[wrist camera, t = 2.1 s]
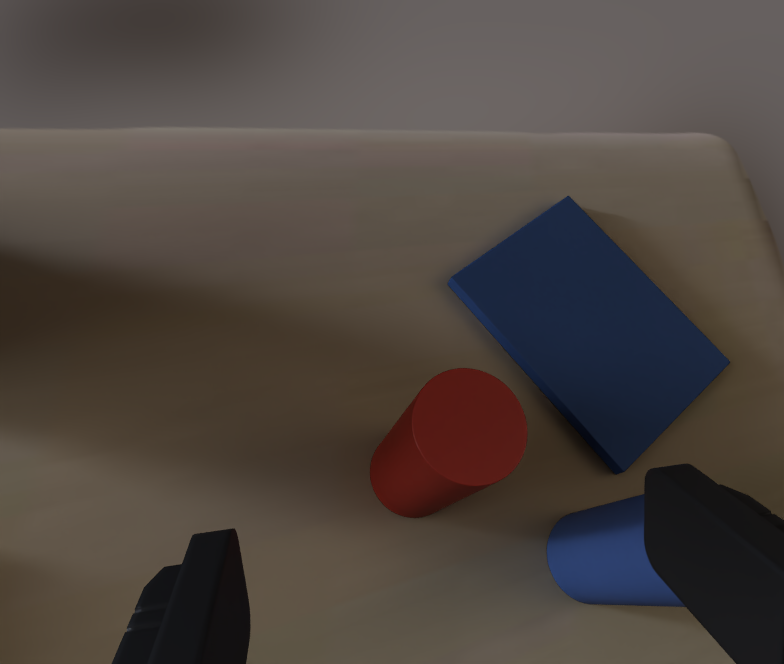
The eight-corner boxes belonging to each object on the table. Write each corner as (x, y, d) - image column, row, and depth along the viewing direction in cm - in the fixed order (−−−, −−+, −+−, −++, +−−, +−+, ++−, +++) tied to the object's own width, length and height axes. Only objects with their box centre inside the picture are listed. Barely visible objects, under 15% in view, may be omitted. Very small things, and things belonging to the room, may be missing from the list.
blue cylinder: (529, 550, 34) (635, 532, 25) (584, 494, 36) (703, 456, 27) (590, 624, 34) (726, 636, 24) (643, 563, 35) (790, 550, 26)
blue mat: (446, 284, 40) (451, 276, 40) (562, 203, 45) (568, 195, 44) (615, 475, 37) (624, 472, 36) (721, 367, 42) (731, 362, 41)
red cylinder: (351, 465, 34) (387, 413, 25) (416, 413, 36) (473, 346, 27) (408, 536, 34) (467, 512, 24) (471, 480, 35) (551, 436, 26)
